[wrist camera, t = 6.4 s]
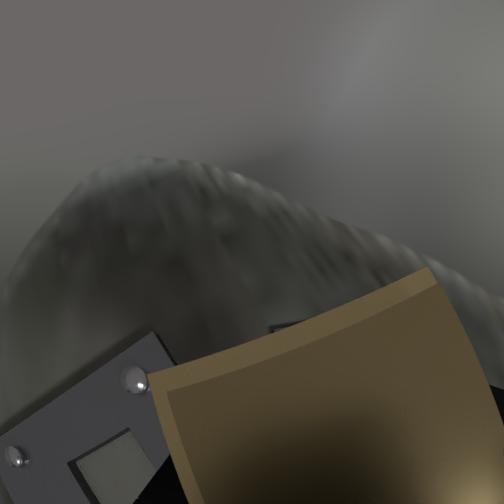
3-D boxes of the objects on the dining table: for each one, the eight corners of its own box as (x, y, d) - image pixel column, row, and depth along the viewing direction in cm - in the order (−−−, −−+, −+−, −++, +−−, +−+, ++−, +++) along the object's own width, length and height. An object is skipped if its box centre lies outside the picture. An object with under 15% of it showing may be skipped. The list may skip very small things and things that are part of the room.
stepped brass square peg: (373, 455, 12) (547, 500, 2) (274, 494, 12) (247, 648, 1) (336, 367, 15) (445, 242, 4) (239, 404, 14) (124, 365, 4)
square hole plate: (297, 516, 16) (298, 525, 14) (86, 595, 11) (75, 601, 9) (158, 335, 23) (148, 328, 21) (-5, 445, 18) (-18, 444, 17)
